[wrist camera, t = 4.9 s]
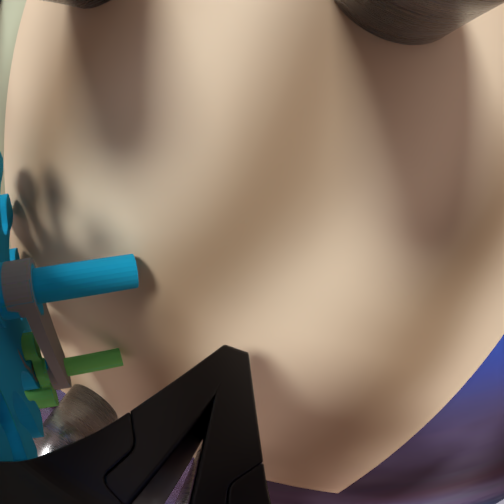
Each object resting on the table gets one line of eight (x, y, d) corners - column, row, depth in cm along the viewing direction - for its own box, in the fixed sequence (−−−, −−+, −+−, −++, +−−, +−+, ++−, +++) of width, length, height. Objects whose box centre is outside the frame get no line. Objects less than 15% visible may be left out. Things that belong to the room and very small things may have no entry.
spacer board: (589, 43, 3) (596, 43, 2) (338, 487, 14) (337, 493, 13) (-41, -9, 6) (-45, -9, 5) (-33, 309, 17) (-36, 311, 16)
